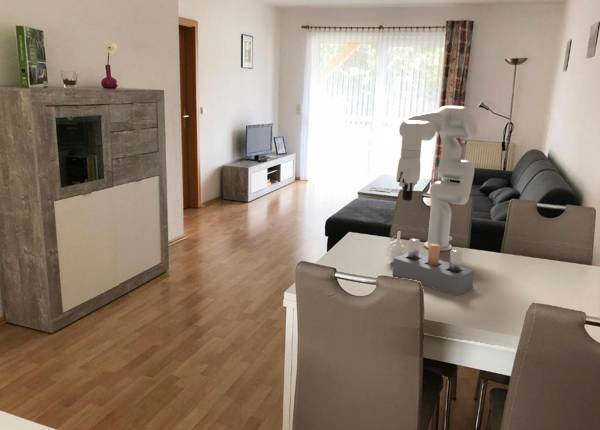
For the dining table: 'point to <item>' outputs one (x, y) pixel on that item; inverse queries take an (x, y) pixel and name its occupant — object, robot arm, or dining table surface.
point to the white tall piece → (396, 248)
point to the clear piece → (455, 260)
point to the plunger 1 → (414, 249)
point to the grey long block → (434, 274)
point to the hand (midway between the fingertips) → (407, 199)
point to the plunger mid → (433, 255)
